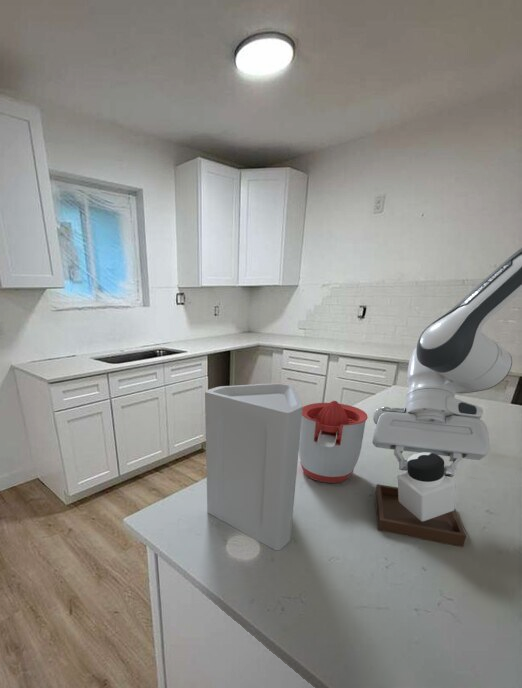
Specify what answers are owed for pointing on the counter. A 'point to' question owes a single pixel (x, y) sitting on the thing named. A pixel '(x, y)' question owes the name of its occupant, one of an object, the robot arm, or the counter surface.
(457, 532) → the tray
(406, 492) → the medicine bottle
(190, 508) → the counter surface
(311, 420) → the citrus juicer
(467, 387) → the robot arm
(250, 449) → the triangular white caddy
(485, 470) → the counter surface
